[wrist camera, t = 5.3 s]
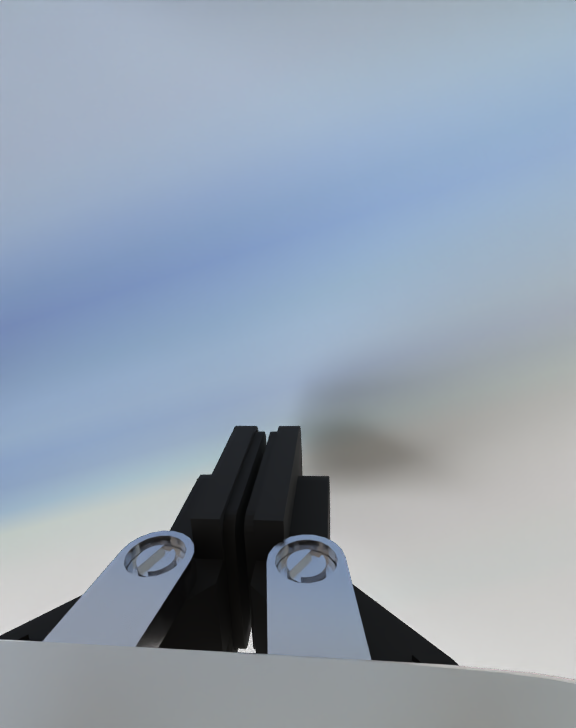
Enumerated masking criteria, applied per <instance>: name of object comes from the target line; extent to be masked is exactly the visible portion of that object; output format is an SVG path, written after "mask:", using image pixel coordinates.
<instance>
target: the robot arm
mask: <svg viewBox="0 0 576 728" xmlns="http://www.w3.org/2000/svg"><path fill="white" fill-rule="evenodd" d="M251 627H252V638H253V648H254V649H256V653H240V652H238V648H240V649H246V648H247V646H248V641H249V636H250V632H251ZM0 728H576V680H574V679H568V678H562V677H556V676H550V675H544V674H538V673H531V672H520V671H510V670H499V669H488V668H478V667H467V666H459V665H458V664H457V663H456V662H455V661H454V660H453V659H451V658H450V657H449V656H447V655H446V654H445V653H443V652H442V651H441V650H439V649H438V648H437V647H435V646H434V645H433V644H431V643H430V642H429V641H427V640H426V639H425V638H423V637H422V636H421V635H420V634H418V633H417V632H416V631H414V630H413V629H412V628H410V627H409V626H408V625H406V624H405V623H404V622H402V621H401V620H400V619H398V618H397V617H396V616H394V615H393V614H392V613H390V612H389V611H388V610H386V609H385V608H384V607H382V606H381V605H380V604H378V603H377V602H376V601H374V600H373V599H372V598H370V597H369V596H368V595H366V594H365V593H364V592H362V591H361V590H360V589H358V588H357V587H356V586H354V585H353V584H352V581H351V577H350V573H349V569H348V565H347V561H346V557H345V555H344V553H343V551H342V549H341V548H340V547H339V546H338V545H337V544H336V543H335V542H333V541H331V540H330V486H329V476H302V449H301V428H300V426H279V428H278V431H277V432H270V435H269V439H268V442H267V445H266V434H265V432H258V428H257V426H235V428H234V430H233V432H232V434H231V436H230V438H229V440H228V442H227V444H226V446H225V448H224V450H223V452H222V455H221V457H220V459H219V461H218V463H217V465H216V467H215V469H214V471H213V473H212V475H200V476H199V478H198V479H197V481H196V483H195V485H194V487H193V488H192V490H191V492H190V494H189V496H188V498H187V500H186V502H185V503H184V505H183V507H182V509H181V511H180V513H179V515H178V516H177V518H176V520H175V522H174V524H173V526H172V528H171V530H170V531H159V532H153V533H149V534H147V535H144V536H141V537H139V538H137V539H136V540H134V541H132V542H130V543H129V544H128V545H127V546H126V547H125V548H124V549H122V550H121V552H120V553H119V554H118V555H117V556H116V557H115V558H114V560H113V561H112V562H111V563H110V564H109V565H108V566H107V568H106V569H105V570H104V571H103V572H102V573H101V575H100V576H99V577H98V578H97V579H96V580H95V581H94V583H93V584H92V585H91V586H90V587H89V588H88V589H87V591H86V592H85V593H84V594H83V595H81V596H79V597H77V598H75V599H73V600H71V601H69V602H67V603H65V604H63V605H61V606H59V607H57V608H55V609H53V610H51V611H49V612H47V613H45V614H43V615H41V616H39V617H37V618H35V619H33V620H31V621H29V622H27V623H25V624H23V625H21V626H19V627H17V628H15V629H13V630H11V631H9V632H7V633H5V634H3V635H1V636H0Z"/></svg>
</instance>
